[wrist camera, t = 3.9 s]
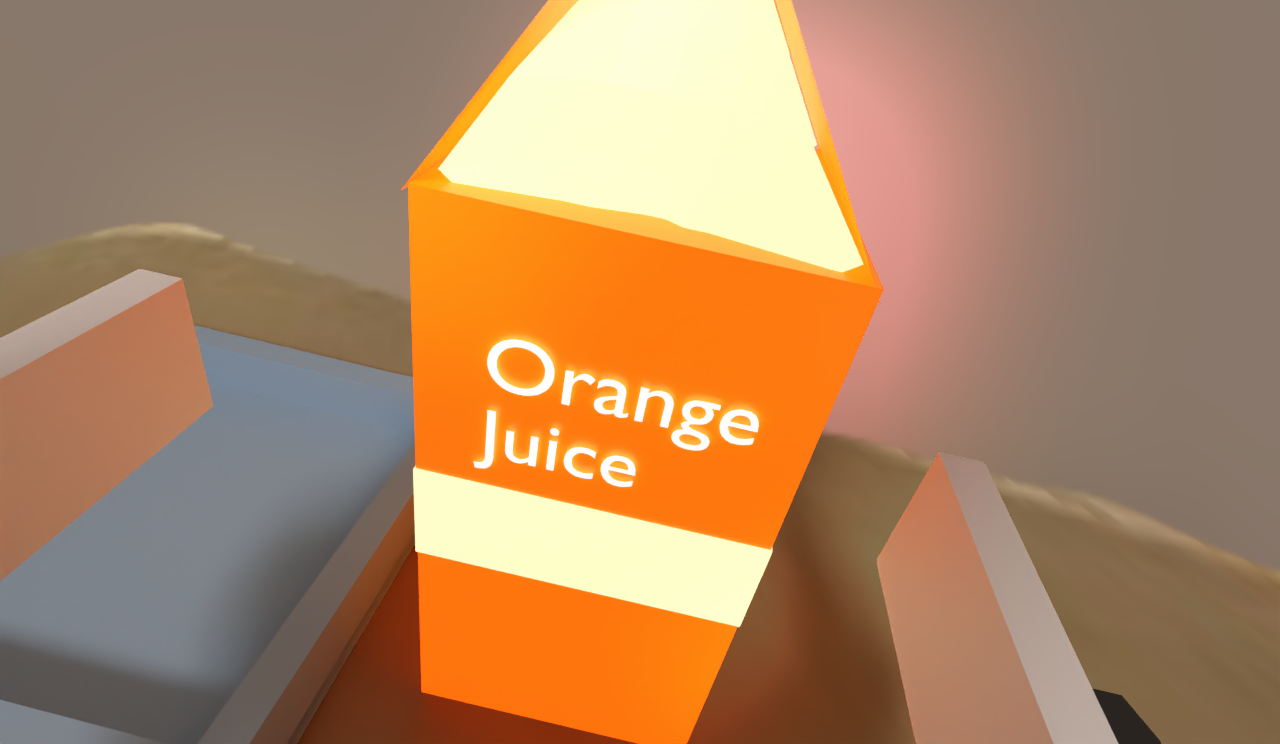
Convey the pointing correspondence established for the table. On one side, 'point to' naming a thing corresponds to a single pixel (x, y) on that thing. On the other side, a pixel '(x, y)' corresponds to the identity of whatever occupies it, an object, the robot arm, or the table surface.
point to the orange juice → (622, 354)
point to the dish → (219, 563)
